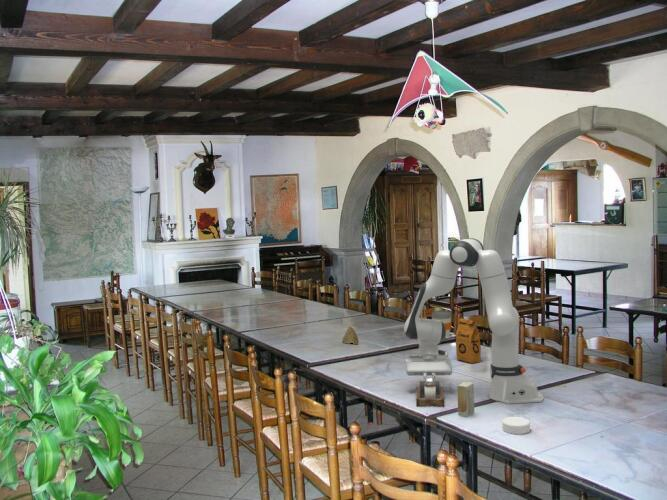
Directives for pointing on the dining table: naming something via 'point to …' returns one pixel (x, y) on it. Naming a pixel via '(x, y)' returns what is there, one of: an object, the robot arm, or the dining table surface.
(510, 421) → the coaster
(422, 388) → the bar
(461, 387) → the skincare box
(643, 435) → the dining table surface
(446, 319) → the reusable coffee cup
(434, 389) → the jar
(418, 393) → the brown wooden rectangular frame
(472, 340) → the coffee package
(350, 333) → the rock
